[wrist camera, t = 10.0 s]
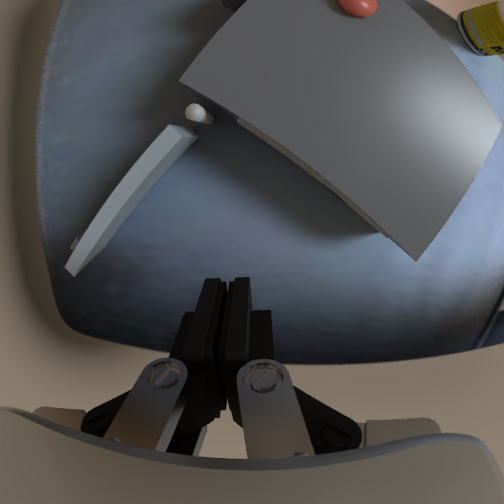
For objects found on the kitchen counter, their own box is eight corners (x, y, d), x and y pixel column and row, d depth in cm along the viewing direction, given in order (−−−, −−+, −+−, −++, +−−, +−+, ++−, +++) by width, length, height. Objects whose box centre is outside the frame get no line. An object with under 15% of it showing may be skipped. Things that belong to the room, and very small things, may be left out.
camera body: (459, 120, 15) (508, 126, 10) (371, 245, 19) (407, 282, 14) (280, -32, 10) (291, -75, 5) (163, 99, 15) (128, 86, 10)
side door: (105, 246, 19) (74, 276, 14) (91, 232, 18) (57, 259, 14) (199, 136, 16) (182, 136, 11) (182, 120, 15) (159, 115, 11)
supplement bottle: (472, 59, 12) (540, 53, 4) (447, 13, 10) (509, -8, 3) (494, 54, 11) (555, 51, 3) (472, 12, 9) (529, -2, 2)
